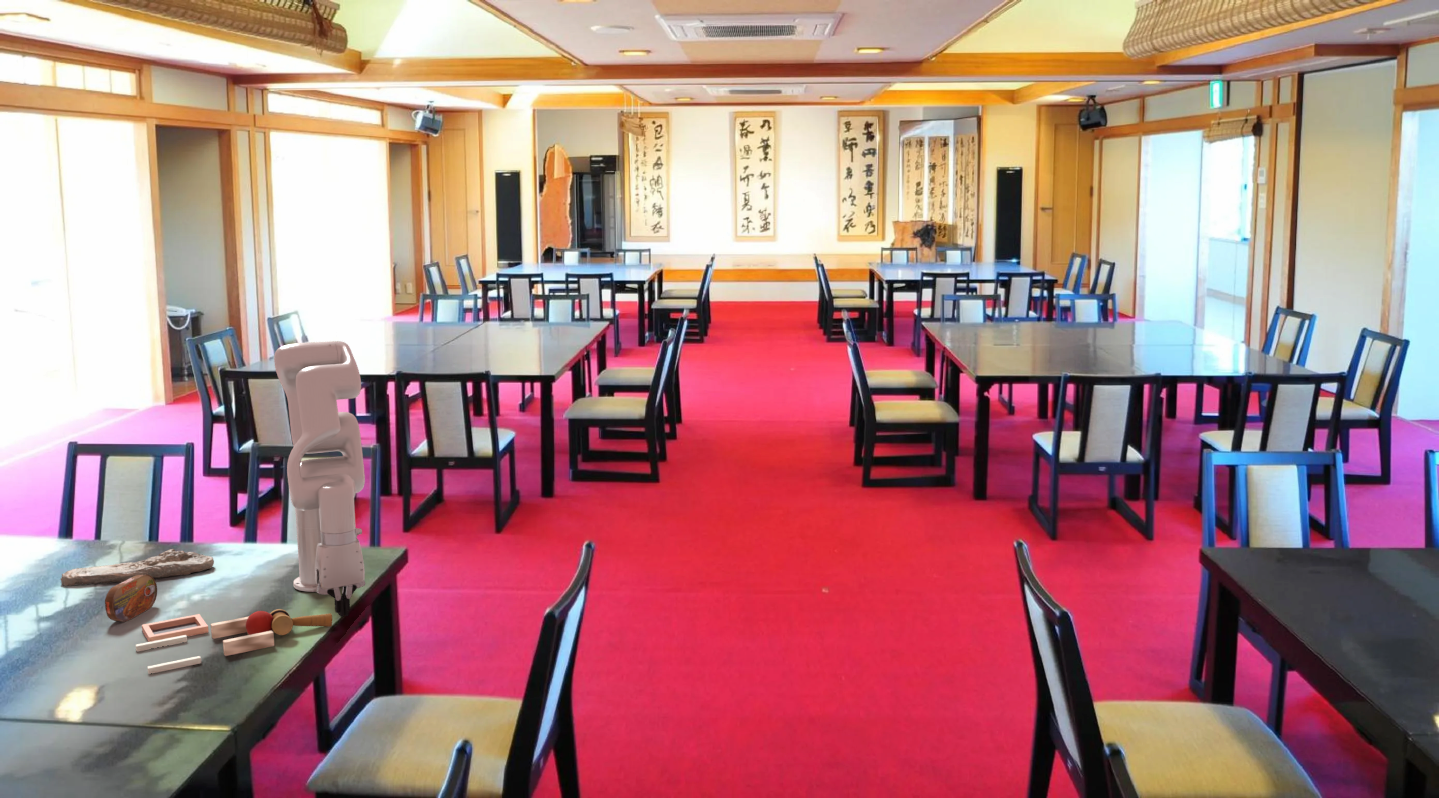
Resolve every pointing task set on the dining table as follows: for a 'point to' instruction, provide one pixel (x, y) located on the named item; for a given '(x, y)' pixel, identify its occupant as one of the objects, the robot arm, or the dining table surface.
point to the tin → (131, 598)
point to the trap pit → (175, 628)
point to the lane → (242, 642)
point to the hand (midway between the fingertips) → (342, 614)
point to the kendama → (283, 622)
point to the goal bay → (169, 664)
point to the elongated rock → (140, 568)
